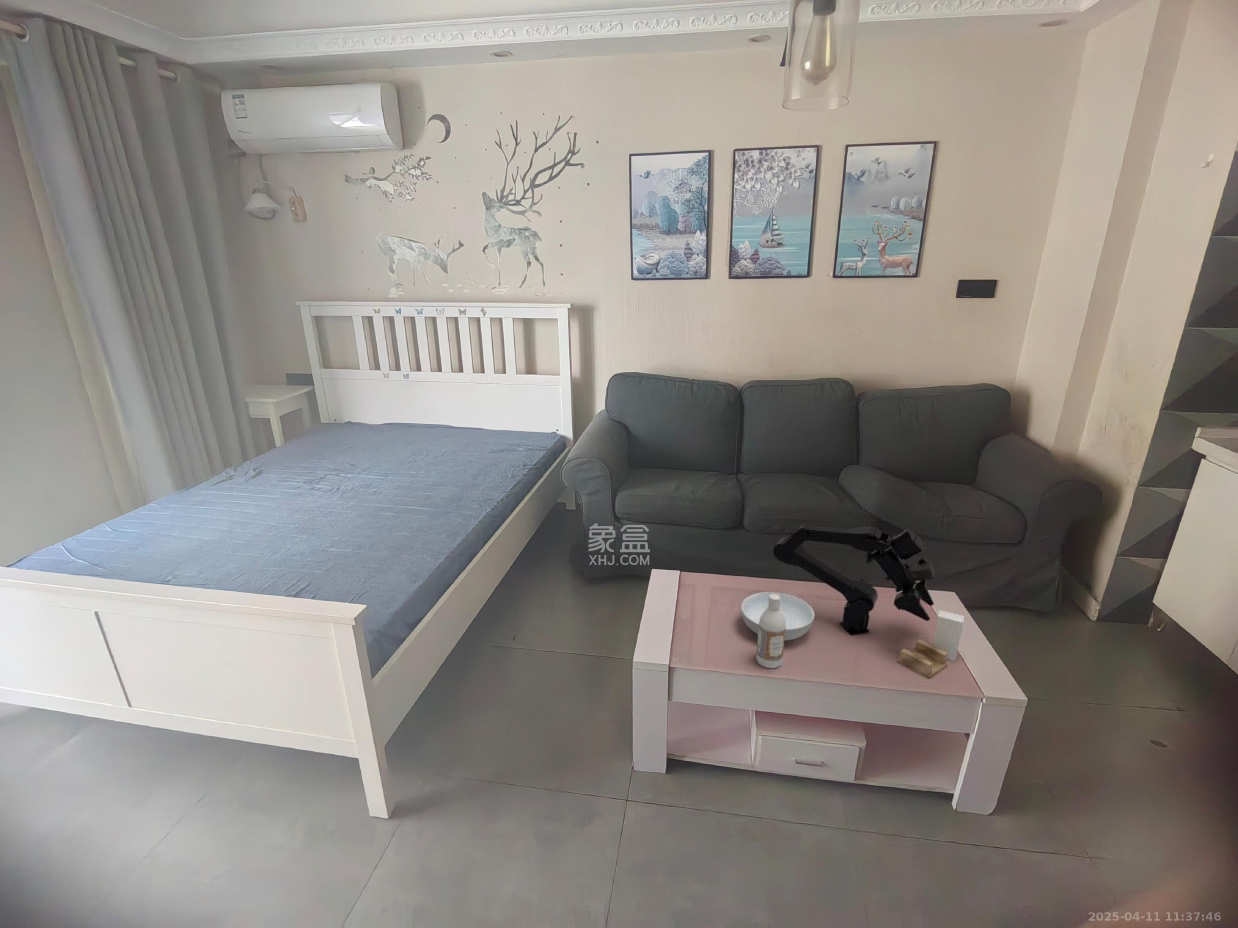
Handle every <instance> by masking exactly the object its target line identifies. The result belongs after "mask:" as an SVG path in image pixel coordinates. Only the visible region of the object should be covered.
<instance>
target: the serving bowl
mask: <svg viewBox="0 0 1238 928" xmlns="http://www.w3.org/2000/svg"><path fill="white" fill-rule="evenodd" d="M771 594H777V595H779V596H780V608H779V609H780V611H781V612H782V614H783V616H784V618H785V622H786V629H785V640H784V641H790V640H795V639H797V638H798V639H799V638H800V637H802V636H804V635H805V634H806V633H807V632H809V630H810V629H811V627H812V625H813V623H814V620H815V612H814V609H813V608H812V606H811V605H810V604H809V603H807V602H806V601H805V600H803V599H801V598H800V597H797V596H795V595H793V594H789V593H784V592H779V591H778V592H777V591H764V592H763V591H762V592H756V593H754V594H750V595H749V596H747V597H746V598H744V599H743V601H742V602H741V605H740V611H741V615H742V619H743V622H744V623H745V625H746V626H747V627H748V628H749V629H750V630H751V631H752V632H754V633H755V634H757V635H758V630H759V621H760V617H761V615H762V614H763V612H764V611H765V610H766V609H767V608H768V603H769V596H770V595H771Z"/></svg>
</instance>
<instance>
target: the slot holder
mask: <svg viewBox="0 0 1238 928" xmlns="http://www.w3.org/2000/svg"><path fill="white" fill-rule="evenodd" d="M947 656H948V653H947V652H945V651H943V650H941V649H938V648H936V647H934V646H933V644H930V643H928V642H926V641H924V640H922V639H917V640H916V641H915V647H914V648H912V650H908V649H907V648H903V649H900V655H899V658H897V661H896V662H898V663H899V664H901V665H902V666H905V667H907V668H908V669H910V670H912V671H914V672H916V673H918V674H919V675H921V676H924V677H925V678H926V679H931V678H932V677H934V676H935V675H937V674H938V673H940V672H941V671H943V670H944V669H946V668H947V667H948V666H949V663H947V661H948V659H947Z"/></svg>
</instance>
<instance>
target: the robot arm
mask: <svg viewBox="0 0 1238 928" xmlns="http://www.w3.org/2000/svg"><path fill="white" fill-rule="evenodd" d="M806 541H810V542H816V543H827V544H834V545H835V544H836V545H845V546H848V547H851V548H853V549H855V550H858V551H861V552H865V553H866V560H865V563H866V564H869V563H870V562H871V563H872V561H874V562H875V563H876V565H878V567H879V568H880V569H881V570H882V571H883V573H884V574H885V579H886V581H887V582H888V581H890V582H891V583H892V584H893V585H894V587H895V589H894V590H895V592H896V593H897V594H896V595H895V597H894V600H893V605H894V606H895V608H896V609H897V610H898V611H899V610H901V611H905V612H908V613H909V614H912V615H914V616H916V617H918V618H920V619H922V620H924V621H925V622H928V621H930V620H931V618H930V616H929V614H928V612H927V611H926V610H925V608H924V606H923V604H922V603H921V601H923V602H924V603H925V604H927V605H929V606H931V607H932V606H934V601H933V599H932V596H931V594H930V592H929V590H928V588H927V585H926V583H927V581H930V580H933V579H935V574H936V572H935V569H934V567H933V566H934V563H932V562H931V560H930V561H929V560H928V559H927V558H926V557H925V556H924V557H920V558H918V562H917V563H914V564H913V565H910V564H909V563H908V562H906V560H908V559H910V558H913V557H914V556H916V555H917V554H919V553H921V552H923V551H925V550H926V546H925V544H924V542H923V540H922V539H921V537H920V536H919V535H917V534H916V533H915V532H913V531H911V530H910V529H909V528H907V529H904V530H903V532H901V533H899V534H898V535H896V536H895V535H893V534H890V533H887V532H885V531H882V530H880V529H879V528H878V527H877V526H873V525H871V526H870V525H868V526H867V525H866V526H858V527H853V528H843V527H831V526H821V525H820V526H817V525H810V524H807V523H804V524H802V525H801V526H800V527H799V528H798V529H796V530H795V531H794V532H793V533H791V534H790V535H789V536H784V537H782V538H780V540H779V541H778V542H777V543H776V544H775V546H774V547H773V556H774V557H775V559H777V561H779V562H782V563H785V564H786V565H789V566H793V567H794V566H796V567H799V568H800V569H802V570H804V571H805V572H807V573H809V574H810V575H812V576H813V577H815V578H817V579H818V580H820V581H821V582H822V583H825V585H827V586H828V587H830V588H832V589H834V590H836V591H837V592H838V593H839V594H841V595H842V596H843V597H844V599H845V600H846V601H847V602H846V604H845V605H844V607H843V614H842V615H843V617H842V621H839V622H838V625H839V626H840V627H842V629H843V630H845V632H847V633H848V634H849V635H850V636H854V635H857V636H858V635H862V634H869V633H870V632H871V630H870V629H869V622H870V621H869V620H870V612H872V611H873V610H874V608H875V605H876V602H877V601H878V595H879V594H878V591H877V590H876V589H875V587H873V586H874V585H873V584H872V583H869V582H867V581H865V580H864V579H863V578H862V577H859V578H858V580H852V579H849V578H848V577H847V576H845V575H843V574H841V573H840V572H838V571H836V570H835V569H833V568H832V567H830V566H828V565H827V564H825V562H822V561H820V560H819V559H817V558H816V557H814V556H812V555H811V554H809V553H808V552H807V551H806V549H805V548H804V547H803V545H802V544H804V543H805V542H806ZM903 560H905V561H904V562H903Z"/></svg>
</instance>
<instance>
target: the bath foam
mask: <svg viewBox="0 0 1238 928" xmlns="http://www.w3.org/2000/svg"><path fill="white" fill-rule="evenodd" d="M779 608H780V596H779V595H777V594H771V595H770V596H769V603H768V608H767V609H766V610H765V611H764V612H763V614H762V615H761V617H760V621H759V630H758V634H757V643H756V657H755V658H756V662H757V663H758V664H759V666H760V665H761V667H764V668H767V669H776V668H779V667H781V665H782V664H783V658H784V649H785V641H786V640H785V629H786V622H785V618H784V616H783V614H782V612H781V611H780V609H779Z"/></svg>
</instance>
